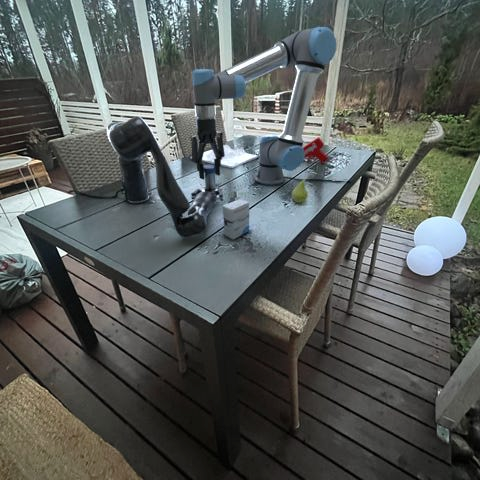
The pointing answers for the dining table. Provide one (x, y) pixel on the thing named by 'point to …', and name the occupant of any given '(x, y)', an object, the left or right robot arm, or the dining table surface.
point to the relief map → (229, 157)
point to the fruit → (300, 192)
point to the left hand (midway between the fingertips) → (212, 188)
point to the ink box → (236, 218)
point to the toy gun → (315, 150)
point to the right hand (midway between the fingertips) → (209, 176)
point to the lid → (209, 169)
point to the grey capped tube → (210, 182)
